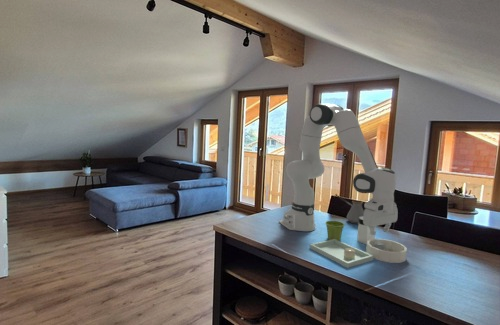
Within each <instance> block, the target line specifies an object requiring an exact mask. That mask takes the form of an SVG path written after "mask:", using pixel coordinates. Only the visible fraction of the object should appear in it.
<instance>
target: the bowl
mask: <svg viewBox="0 0 500 325" xmlns="http://www.w3.org/2000/svg"><path fill="white" fill-rule="evenodd" d="M375 242H380V243H383V244H385V250H380V249H378V248H375V247H374V245H375ZM365 249H366V250H365V252H366V253H368V254H371V255H373V259H375V260H378V261H380V262H384V263H391V264H392V263H393V264H401V263H403V262H406V261H407V249H408V248H407V247H406V246H405V245H404V244H402V243H400V242H397V241H395V240H391V239H385V238H375V239H371V240H368V241H367V245H366V247H365Z"/></svg>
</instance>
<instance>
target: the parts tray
mask: <svg viewBox="0 0 500 325" xmlns="http://www.w3.org/2000/svg"><path fill="white" fill-rule="evenodd" d="M345 248H351V249H354V250H355V259H354V260H346V259H345V258H344V249H345ZM309 249H311V250H312V251H314V252H316V253H318V254H320V255H322V256H324V257H325V258H327V259H329V260H332V261H333V262H334V263H337V264H339V265H341V266H342V267H344V268H346V269H348V268H352V267H355V266H358V265H362V264H365V263H369V262H371V261H374V258H373V255H371V254H368V253H366V251H364V250H361V249H359V248H356V247H354V246H352V245H349V244H347V243H345V242H344V241H341V240H340V241H338V240H336V239H332V240H329V239H328V240H324V241H319V242H314V243H310V244H309Z"/></svg>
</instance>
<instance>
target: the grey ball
mask: <svg viewBox="0 0 500 325" xmlns="http://www.w3.org/2000/svg"><path fill="white" fill-rule="evenodd" d="M374 247H375V248H378V249H380V250H385V244H383V243H380V242H375V245H374Z"/></svg>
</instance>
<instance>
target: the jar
mask: <svg viewBox="0 0 500 325" xmlns="http://www.w3.org/2000/svg"><path fill="white" fill-rule="evenodd" d="M376 229H377V226H375V228H374V230H375V231H376ZM356 239H357V242H358V243H360V244H364V245H366V246H367V241H368V240H371V239H376V235H371V234H370V229H369V227H368V226H365V225H364V223H363V216H361V217H359V219H358V224H357V237H356Z"/></svg>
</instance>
